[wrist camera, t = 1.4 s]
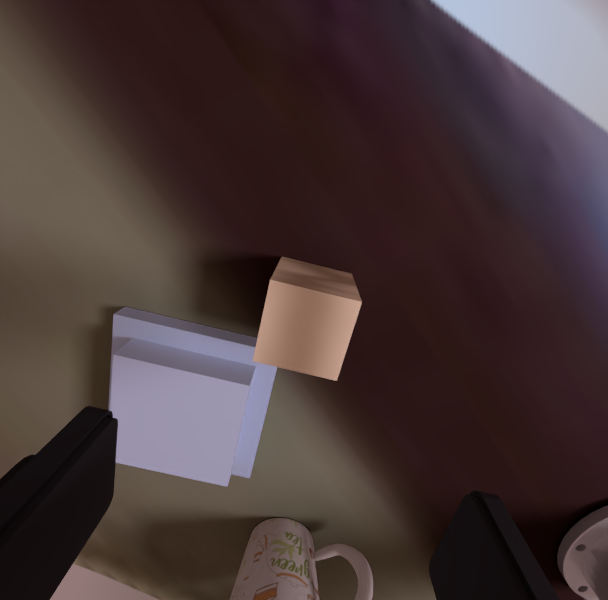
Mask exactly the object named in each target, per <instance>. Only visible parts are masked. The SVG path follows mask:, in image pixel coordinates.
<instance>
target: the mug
mask: <svg viewBox="0 0 608 600" xmlns="http://www.w3.org/2000/svg"><path fill="white" fill-rule="evenodd" d="M337 555H340V556H342V557H344V558H346V559H347V560H348V561H349V562H350V563H351V565H352V566H353V568H354V570H355V572H356V575H357V579H358V588H357V593H356V597H355V599H354V600H372V596H373V577H372V571H371V568H370V566H369V563H368V561H367V560H366V558H365V557H364V556H363V554H361V553H360V552H359V551H358V550H357V549H355V548H353V547H351V546H348V545H346V544H342V543H335V544H331V545H329V546H326V547H324V548H321V549H319V550H317V551H316V552H314V545H313V539H312V536H311V534H310V532H309V531H308V529H307V528H306V527H305V526H303V525H302V524H300V523H299V522H297V521H294V520H291V519H287V518H272V519H268V520H265V521H263V522H261V523H260V524H258V525H257V526H256V527H255V528H254V530H253V531H252V533H251V536H250V539H249V541H248V545H247V548H246V551H245V554H244V557H243V560H242V563H241V566H240V569H239V572H238V575H237V578H236V581H235V584H234V588H233V591H232V594H231V597H230V600H319V590H318V581H317V572H316V563H315V561H319V560H323V559H327V558H330V557H333V556H337Z"/></svg>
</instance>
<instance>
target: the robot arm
mask: <svg viewBox="0 0 608 600" xmlns="http://www.w3.org/2000/svg"><path fill="white" fill-rule="evenodd" d="M117 431H118V420H117V419H116V418H113V413H112V411H109V410H104V409H99V408H95V407H90V406H88V407H85V408H84V409H83V410H82V411H81V412H80V413H79V414H78V415H76V416H75V417H74V418H73V419H72V420H71V421H70V422H69V423H68V424H67V425H66V426H65V427H64V428H63V429H62V430H61V431H60V432H59V433H58V434H57V435H56V436H55V437H54V438H53V439H52V440H51V441H50V442H49V443H47V444H46V445H45V446H44V447H43V448H42V449H41V450H40V451H39V452H38V453H37V454H36V455H30V456H27V457H25V458H24V459H22V460H21V461H20V462H18V463H17V464H16V465H15V466H14V467H13V468H12V469H11V470H10V471H9V472H8V473H6V474H5V475H4V476H3V477H2V478H1V479H0V600H50V598H51V597H52V595H53V593H54V592H55V590H56V589H57V587H58V586H59V584H60V583H61V581H62V579H63V578H64V576H65V575H66V573H67V572H68V570H69V569H70V567H71V565H72V564H73V562H74V561H75V559H76V558H77V556H78V555H79V553H80V551H81V550H82V548H83V547H84V545H85V544H86V542H87V541H88V539H89V537H90V536H91V534H92V533H93V531H94V530H95V528H96V527H97V525H98V523H99V522H100V520H101V519H102V517H103V516H104V514H105V513H106V511H107V509H108V507H109V505H110V503H111V501H112V498H113V493H114V477H115V462H116V447H117ZM557 563H558V567H559V570H560V572H561V574H562V576H563V577H564V579H565V580H566V582H567V584H568V585H569V587H570V588H571V589H572V590H573V591H574V592H575V593H577V594H578V595H580V596H582V597H583V598H585V599H587V600H608V505H607V506H604V507H602V508H600V509H598V510H596V511H594V512H592V513H590V514H589V515H587V516H585V517H584V518H582V519H581V520H580V521H578V522H577V523H576V524H575V525H574V526H573V527H572V528H571V529H570V530H569V531H568V533H567V534H566V535H565V536H564V538H563V540H562V542H561V544H560V546H559V550H558V554H557ZM429 573H430V578H431V581H432V585H433V588H434V592H435V595H436V599H437V600H559V598H558V596H557V595H556V593H555V591H554V589H553V588H552V586H551V584H550V583H549V581H548V579H547V577H546V576H545V574H544V572H543V571H542V569H541V567H540V565H539V564H538V562H537V560H536V559H535V557H534V555H533V553H532V552H531V550H530V548H529V547H528V545H527V543H526V541H525V540H524V538H523V536H522V535H521V533H520V531H519V529H518V528H517V526H516V524H515V523H514V521H513V519H512V517H511V516H510V514H509V512H508V510H507V509H506V507H505V505H504V504H503V502H502V500H501V499H500V498H499V497H498V496H496V495H493V494H488V493H484V492H479V491H472V492H471V493H470V494H469V495H466V496H465V497H464V498H463V500H462V502H461V504H460V506H459V508H458V509H457V511H456V513H455V515H454V517H453V519H452V521H451V522H450V524H449V526H448V528H447V530H446V532H445V534H444V535H443V537H442V539H441V541H440V543H439V545H438V547H437V548H436V550H435V552H434V554H433V556H432V558H431V560H430V564H429Z"/></svg>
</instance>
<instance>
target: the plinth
mask: <svg viewBox="0 0 608 600" xmlns="http://www.w3.org/2000/svg"><path fill="white" fill-rule="evenodd" d="M256 343H257V338H256V337H252V336H247V335H243V334H239V333H235V332H230V331H226V330H222V329H218V328H214V327H209V326H205V325H201V324H197V323H192V322H188V321H184V320H180V319H176V318H171V317H167V316H163V315H159V314H154V313H150V312H146V311H142V310H137V309H133V308H129V307H124V308H122V309H121V310H119V311H117V312H116V313H114V315H113V333H112V351H111V368H110V386H109V404H108V410H109V411H112V413H113V418H116V419H117V420H118V431H117V447H116V463H121V464H125V465H130V466H134V467H139V468H144V469H148V470H153V471H157V472H162V473H167V474H171V475H176V476H180V477H185V478H189V479H194V480H199V481H203V482H208V483H212V484H217V485H222V486H226V487H227V486H228V483H229V480H230V476H231V474H233V475H237V476H242V477H246V478H250V476H251V472H252V468H253V463H254V459H255V455H256V451H257V447H258V443H259V439H260V435H261V431H262V427H263V423H264V419H265V415H266V411H267V407H268V402H269V398H270V394H271V390H272V386H273V382H274V378H275V374H276V370H277V367H275V366H271V365H267V364H263V363H258V362H254V361H253V356H254V352H255V347H256Z"/></svg>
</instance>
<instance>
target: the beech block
mask: <svg viewBox="0 0 608 600" xmlns="http://www.w3.org/2000/svg"><path fill="white" fill-rule="evenodd" d="M361 303H362V301H361V298H360V295H359V293H358V290H357V287H356V284H355V282H354V279H353V276H352V274H350V273H346V272H342V271H338V270H334V269H330V268H326V267H322V266H318V265H314V264H310V263H306V262H302V261H298V260H294V259H290V258H286V257H281V259H280V261H279V263H278V265H277V267H276V269H275V271H274V273H273V275H272V277H271V279H270V283H269V287H268V292H267V296H266V301H265V306H264V310H263V315H262V320H261V324H260V329H259V333H258V338H257V343H256V347H255V352H254V356H253V361H254V362H258V363H263V364H267V365H271V366H275V367H280V368H284V369H288V370H293V371H297V372H301V373H305V374H310V375H314V376H318V377H322V378H327V379H331V380H335V381H337V379H338V376H339V372H340V369H341V366H342V363H343V360H344V357H345V354H346V351H347V347H348V344H349V341H350V338H351V335H352V332H353V329H354V325H355V322H356V319H357V316H358V313H359V310H360V307H361Z"/></svg>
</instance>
